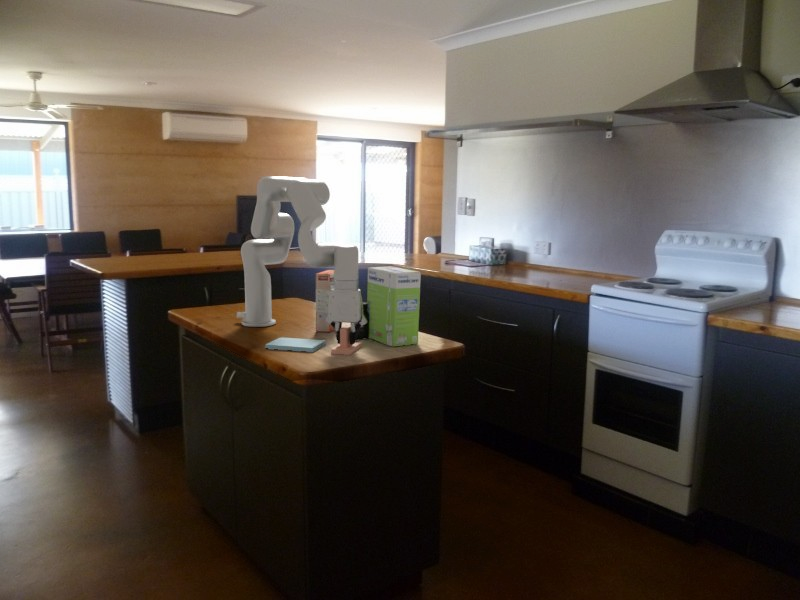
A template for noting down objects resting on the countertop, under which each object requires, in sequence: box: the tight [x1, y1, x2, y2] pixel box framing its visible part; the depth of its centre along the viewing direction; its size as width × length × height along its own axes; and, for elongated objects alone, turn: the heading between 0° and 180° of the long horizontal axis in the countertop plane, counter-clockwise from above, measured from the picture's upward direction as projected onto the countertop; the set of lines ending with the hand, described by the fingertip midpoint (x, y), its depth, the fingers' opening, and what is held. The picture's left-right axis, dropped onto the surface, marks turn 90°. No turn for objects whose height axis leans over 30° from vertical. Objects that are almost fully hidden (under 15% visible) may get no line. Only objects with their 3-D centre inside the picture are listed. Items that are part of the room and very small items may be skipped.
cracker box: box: [315, 269, 335, 333], centre depth 234 cm, size 14×6×21 cm, turn 168°
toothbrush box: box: [366, 265, 422, 348], centre depth 215 cm, size 18×10×24 cm, turn 34°
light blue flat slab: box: [264, 336, 327, 353], centre depth 207 cm, size 16×11×1 cm
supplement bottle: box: [356, 301, 370, 340], centre depth 221 cm, size 7×7×12 cm
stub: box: [330, 324, 362, 356], centre depth 203 cm, size 6×11×7 cm, turn 166°
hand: (346, 342), depth 203 cm, fingers open, 3 cm apart
